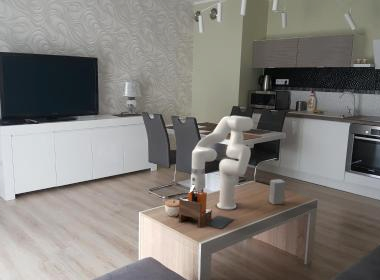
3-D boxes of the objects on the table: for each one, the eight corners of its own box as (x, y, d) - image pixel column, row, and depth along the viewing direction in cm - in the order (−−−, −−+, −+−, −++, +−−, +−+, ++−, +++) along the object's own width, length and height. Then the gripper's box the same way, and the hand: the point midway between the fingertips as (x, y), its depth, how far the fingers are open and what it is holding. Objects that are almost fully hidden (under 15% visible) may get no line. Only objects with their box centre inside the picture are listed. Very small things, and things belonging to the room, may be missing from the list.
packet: (192, 207, 218) (193, 189, 216) (206, 210, 213) (206, 192, 211) (187, 210, 213) (188, 192, 211) (201, 213, 208) (201, 195, 206)
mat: (218, 216, 220) (218, 215, 220) (233, 219, 215) (233, 219, 215) (205, 225, 207) (205, 224, 207) (221, 229, 202) (221, 228, 202)
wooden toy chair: (191, 214, 222) (191, 192, 220) (211, 219, 215) (212, 197, 212) (178, 221, 210) (179, 198, 208) (199, 227, 203) (200, 203, 201)
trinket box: (178, 210, 228) (179, 196, 226) (184, 216, 218) (185, 201, 217) (162, 212, 224) (162, 197, 223) (167, 218, 214) (168, 203, 213)
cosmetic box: (278, 200, 251) (280, 178, 248) (284, 204, 244) (286, 181, 241) (268, 201, 248) (269, 179, 245) (273, 205, 241) (275, 182, 238)
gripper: (196, 175, 199) (195, 206, 203) (210, 169, 214) (209, 198, 217) (184, 173, 203) (184, 203, 206) (199, 167, 218) (198, 195, 221)
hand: (197, 200), depth 212 cm, fingers closed on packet, 6 cm apart
